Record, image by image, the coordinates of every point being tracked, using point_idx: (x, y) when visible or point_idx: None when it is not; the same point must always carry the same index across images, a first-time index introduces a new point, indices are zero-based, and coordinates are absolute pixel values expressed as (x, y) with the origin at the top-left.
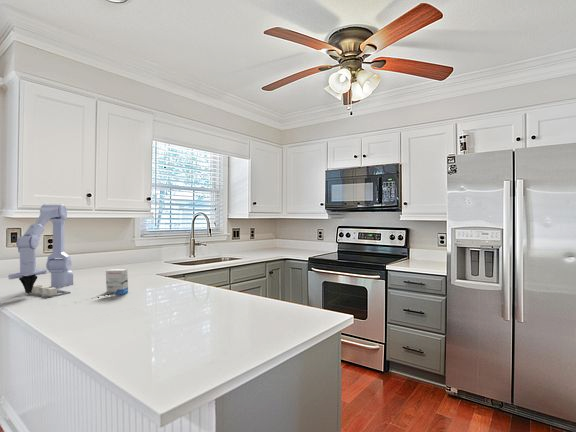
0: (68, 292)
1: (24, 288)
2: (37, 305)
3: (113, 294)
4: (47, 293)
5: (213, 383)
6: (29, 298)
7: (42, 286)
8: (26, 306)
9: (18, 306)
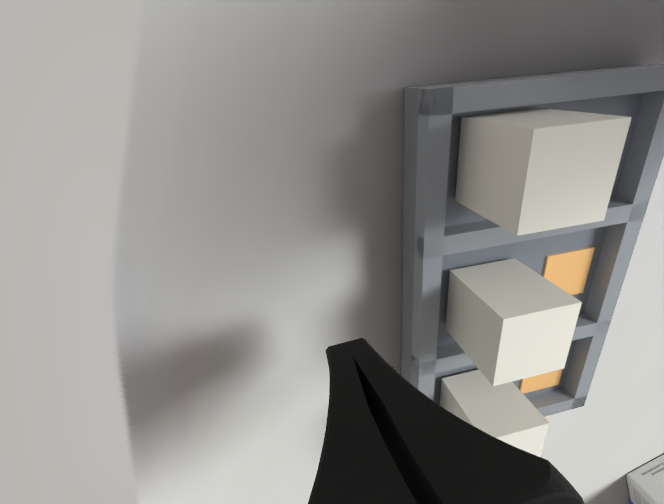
0: (568, 407)
1: (330, 384)
2: (303, 486)
3: (630, 496)
4: (455, 415)
5: None
6: (378, 194)
7: (589, 217)
8: (243, 471)
9: (199, 439)
